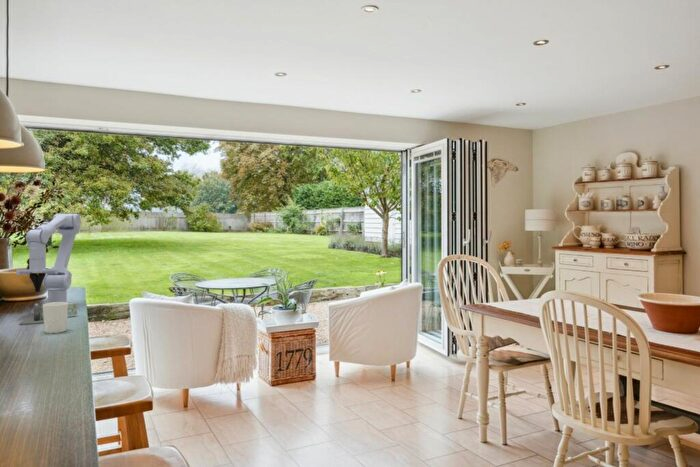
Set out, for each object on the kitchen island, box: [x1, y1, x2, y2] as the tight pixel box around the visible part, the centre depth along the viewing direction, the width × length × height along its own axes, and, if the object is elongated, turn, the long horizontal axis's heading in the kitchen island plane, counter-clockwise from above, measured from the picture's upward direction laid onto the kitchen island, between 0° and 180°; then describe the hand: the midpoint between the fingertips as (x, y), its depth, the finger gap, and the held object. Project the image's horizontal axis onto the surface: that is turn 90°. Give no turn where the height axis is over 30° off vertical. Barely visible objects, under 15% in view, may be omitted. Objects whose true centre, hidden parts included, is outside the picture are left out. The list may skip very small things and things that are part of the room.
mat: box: [18, 312, 44, 326], centre depth 204 cm, size 22×14×1 cm, turn 23°
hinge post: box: [33, 303, 41, 321], centre depth 197 cm, size 2×2×7 cm
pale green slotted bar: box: [40, 302, 78, 319], centre depth 204 cm, size 14×2×5 cm, turn 143°
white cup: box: [42, 301, 69, 334], centre depth 182 cm, size 8×8×10 cm
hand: (37, 291), depth 207 cm, fingers closed
